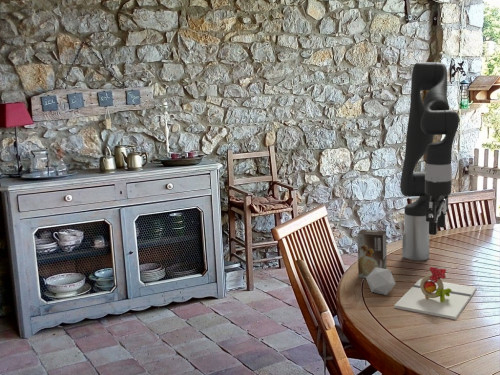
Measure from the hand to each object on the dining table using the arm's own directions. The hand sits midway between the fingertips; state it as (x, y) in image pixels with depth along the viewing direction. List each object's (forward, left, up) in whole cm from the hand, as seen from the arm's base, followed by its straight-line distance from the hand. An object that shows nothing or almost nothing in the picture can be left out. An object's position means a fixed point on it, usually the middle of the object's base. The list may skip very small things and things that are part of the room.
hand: (437, 230), depth 167 cm
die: (-17, -1, -23) cm, 28 cm away
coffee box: (-25, +12, -23) cm, 36 cm away
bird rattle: (0, -2, -22) cm, 22 cm away
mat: (0, +2, -22) cm, 22 cm away
